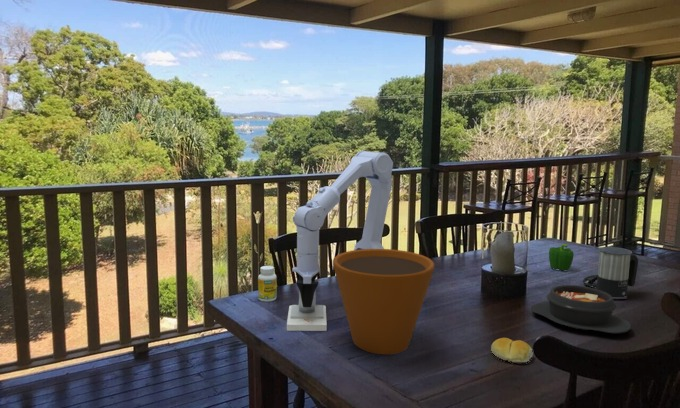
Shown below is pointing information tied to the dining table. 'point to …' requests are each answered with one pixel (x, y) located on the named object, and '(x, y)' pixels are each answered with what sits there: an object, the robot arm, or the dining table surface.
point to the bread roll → (511, 350)
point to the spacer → (306, 309)
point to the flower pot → (382, 296)
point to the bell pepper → (561, 257)
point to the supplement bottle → (267, 284)
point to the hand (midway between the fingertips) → (307, 301)
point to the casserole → (581, 309)
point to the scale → (306, 319)
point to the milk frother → (614, 271)
